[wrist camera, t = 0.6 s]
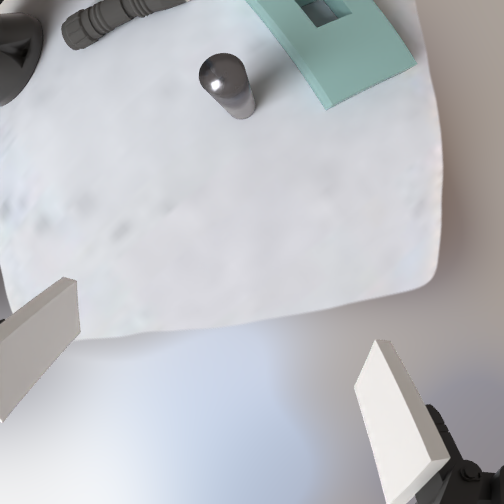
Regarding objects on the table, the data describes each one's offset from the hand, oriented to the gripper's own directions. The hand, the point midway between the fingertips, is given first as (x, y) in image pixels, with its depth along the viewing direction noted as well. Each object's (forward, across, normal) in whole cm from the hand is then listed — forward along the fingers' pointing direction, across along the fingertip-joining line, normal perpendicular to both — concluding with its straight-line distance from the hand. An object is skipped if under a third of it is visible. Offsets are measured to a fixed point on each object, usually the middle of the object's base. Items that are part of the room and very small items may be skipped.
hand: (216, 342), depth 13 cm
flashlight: (+24, -19, +24) cm, 39 cm away
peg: (+24, -3, +12) cm, 27 cm away
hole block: (+24, +3, +25) cm, 34 cm away
